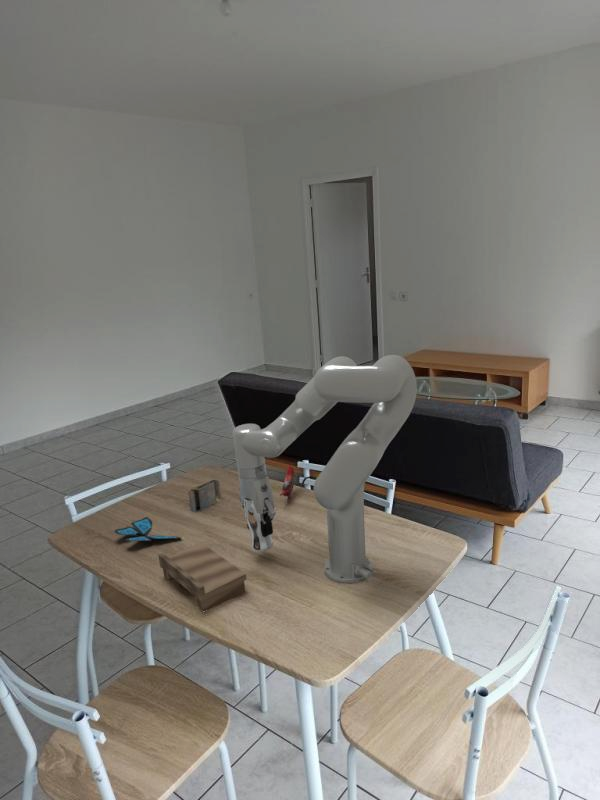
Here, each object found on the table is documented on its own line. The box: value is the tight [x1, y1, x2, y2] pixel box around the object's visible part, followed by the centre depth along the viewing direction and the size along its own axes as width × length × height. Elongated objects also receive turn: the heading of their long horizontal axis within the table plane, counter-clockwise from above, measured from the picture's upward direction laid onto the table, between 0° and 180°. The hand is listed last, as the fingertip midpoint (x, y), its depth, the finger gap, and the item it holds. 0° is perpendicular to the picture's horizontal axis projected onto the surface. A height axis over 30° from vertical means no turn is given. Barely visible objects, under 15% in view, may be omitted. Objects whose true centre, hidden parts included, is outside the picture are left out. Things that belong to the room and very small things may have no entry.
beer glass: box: [243, 497, 274, 552], centre depth 159 cm, size 7×7×15 cm
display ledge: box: [157, 542, 248, 612], centre depth 151 cm, size 22×13×7 cm, turn 39°
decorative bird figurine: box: [279, 465, 295, 501], centre depth 195 cm, size 3×18×10 cm, turn 167°
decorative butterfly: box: [114, 516, 182, 542], centre depth 178 cm, size 20×14×3 cm
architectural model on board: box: [187, 478, 222, 513], centre depth 196 cm, size 11×3×10 cm, turn 139°
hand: (260, 530), depth 160 cm, fingers closed on beer glass, 6 cm apart
